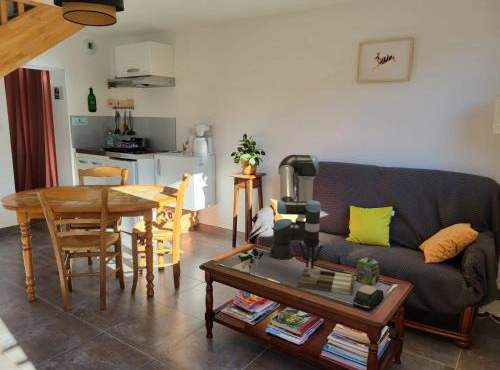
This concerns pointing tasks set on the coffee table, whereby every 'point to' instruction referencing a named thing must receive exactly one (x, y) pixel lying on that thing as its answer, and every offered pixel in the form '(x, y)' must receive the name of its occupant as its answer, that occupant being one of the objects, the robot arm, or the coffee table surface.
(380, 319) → the coffee table surface
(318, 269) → the birch block
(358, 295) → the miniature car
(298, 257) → the coffee table surface
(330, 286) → the brown striped flat block
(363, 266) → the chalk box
